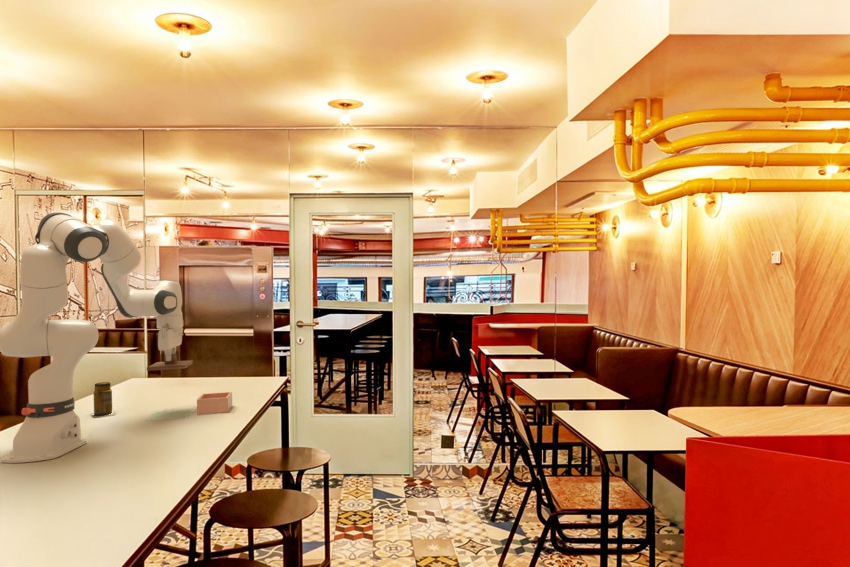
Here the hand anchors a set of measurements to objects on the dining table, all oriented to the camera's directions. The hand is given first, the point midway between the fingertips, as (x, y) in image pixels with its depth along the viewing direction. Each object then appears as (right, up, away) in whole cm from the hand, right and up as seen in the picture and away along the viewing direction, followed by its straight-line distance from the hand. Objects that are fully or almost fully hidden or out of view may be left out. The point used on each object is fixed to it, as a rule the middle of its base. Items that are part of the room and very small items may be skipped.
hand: (170, 360), depth 199 cm
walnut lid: (0, -3, 0) cm, 3 cm away
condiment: (-28, -22, +4) cm, 36 cm away
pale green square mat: (+1, -21, 0) cm, 21 cm away
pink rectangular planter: (+15, -21, +5) cm, 26 cm away
